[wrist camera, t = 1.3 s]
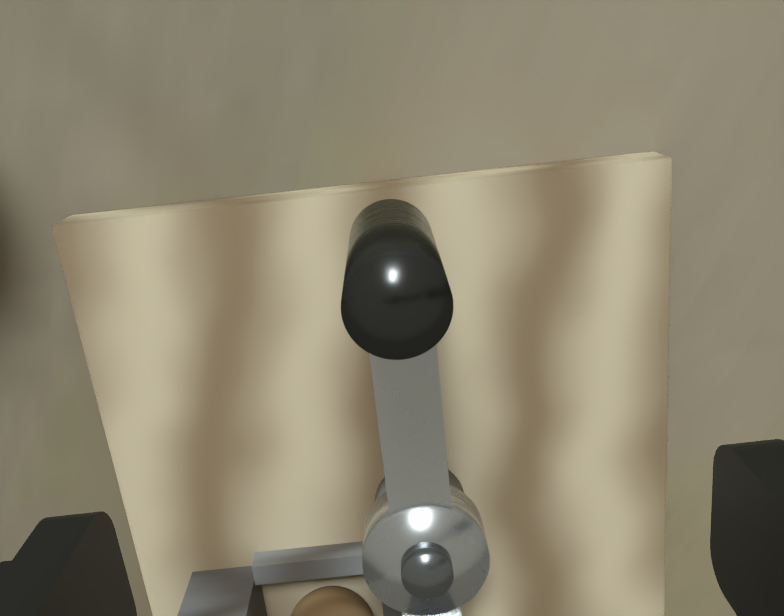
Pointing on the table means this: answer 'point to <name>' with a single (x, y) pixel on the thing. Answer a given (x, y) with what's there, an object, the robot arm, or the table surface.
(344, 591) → the walnut
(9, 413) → the table surface
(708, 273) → the table surface
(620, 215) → the base
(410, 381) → the lever
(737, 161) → the table surface
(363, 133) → the table surface
